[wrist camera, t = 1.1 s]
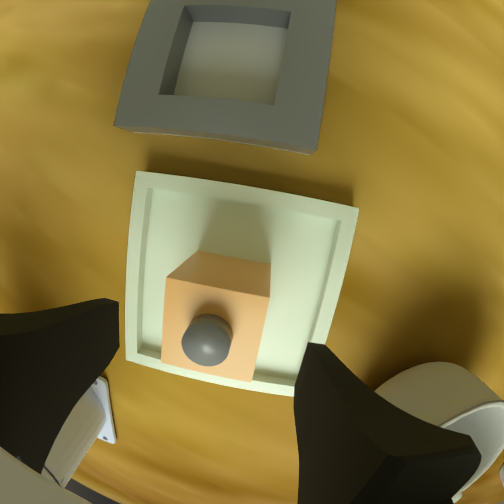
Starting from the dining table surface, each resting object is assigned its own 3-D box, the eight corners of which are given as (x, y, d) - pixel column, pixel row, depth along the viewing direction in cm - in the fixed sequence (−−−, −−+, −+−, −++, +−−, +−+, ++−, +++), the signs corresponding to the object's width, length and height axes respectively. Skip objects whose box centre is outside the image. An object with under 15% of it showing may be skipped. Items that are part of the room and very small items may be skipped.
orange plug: (189, 317, 17) (153, 375, 11) (197, 250, 16) (156, 285, 10) (257, 330, 17) (249, 396, 11) (271, 264, 16) (269, 308, 10)
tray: (133, 351, 18) (126, 359, 17) (145, 171, 16) (136, 170, 15) (305, 386, 18) (306, 398, 17) (353, 206, 15) (359, 208, 14)
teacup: (319, 381, 18) (337, 477, 10) (462, 313, 16) (532, 371, 8) (360, 478, 20) (374, 544, 12) (464, 429, 18) (497, 485, 11)
